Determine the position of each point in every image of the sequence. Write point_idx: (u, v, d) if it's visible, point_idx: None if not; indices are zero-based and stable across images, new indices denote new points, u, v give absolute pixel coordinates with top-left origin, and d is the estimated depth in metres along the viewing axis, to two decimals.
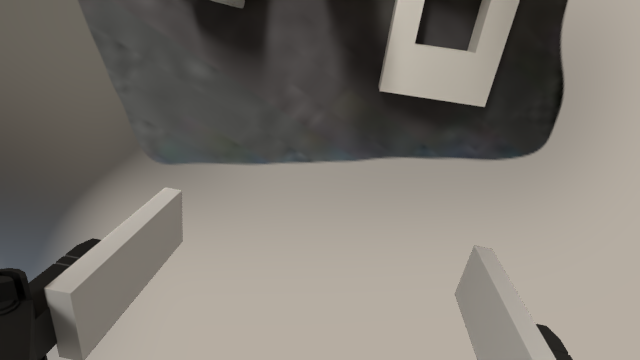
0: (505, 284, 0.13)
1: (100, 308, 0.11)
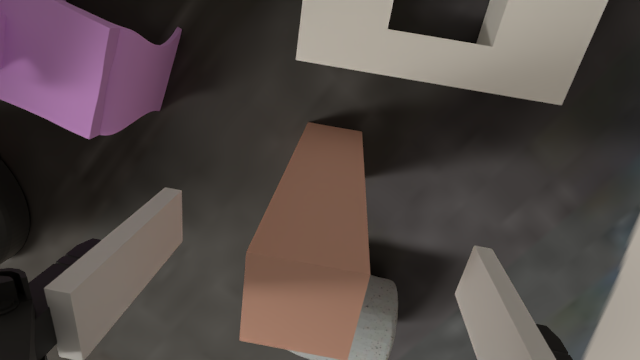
0: (505, 284, 0.13)
1: (100, 308, 0.11)
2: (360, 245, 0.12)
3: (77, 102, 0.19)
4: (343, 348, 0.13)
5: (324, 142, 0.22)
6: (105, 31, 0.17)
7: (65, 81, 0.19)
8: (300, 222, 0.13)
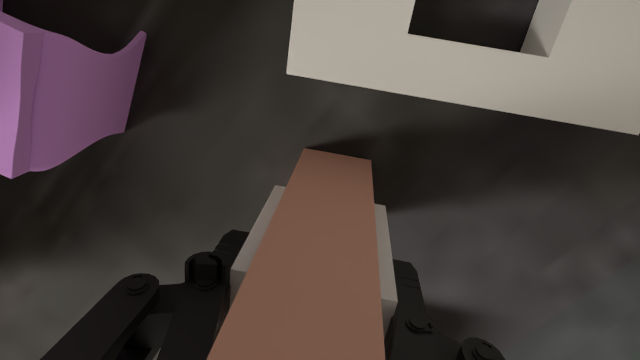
0: (381, 230, 0.15)
1: None
2: None
3: None
4: None
5: (323, 179, 0.17)
6: (18, 37, 0.12)
7: None
8: (276, 345, 0.08)
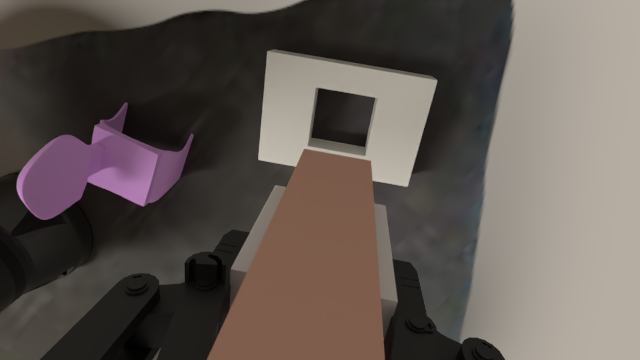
0: (381, 230, 0.15)
1: None
2: None
3: (138, 188, 0.35)
4: None
5: (324, 180, 0.17)
6: (156, 156, 0.34)
7: (133, 178, 0.35)
8: (276, 347, 0.08)
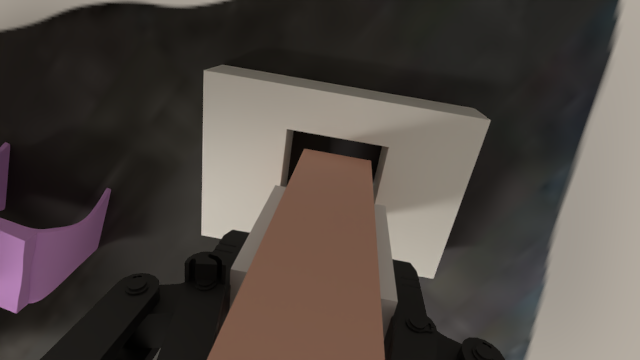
0: (382, 230, 0.15)
1: None
2: None
3: (4, 287, 0.22)
4: None
5: (323, 180, 0.17)
6: (21, 242, 0.20)
7: None
8: (276, 346, 0.08)
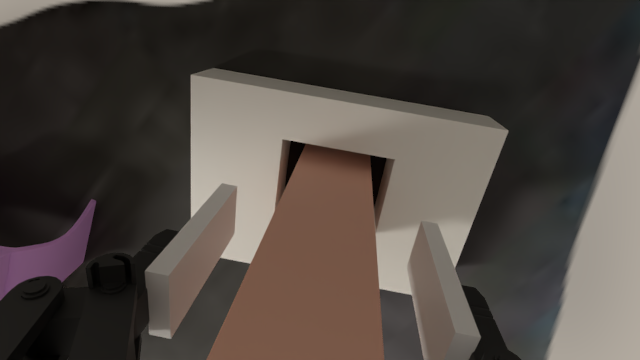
0: (441, 252, 0.14)
1: (183, 291, 0.12)
2: (371, 358, 0.08)
3: None
4: None
5: (325, 172, 0.18)
6: None
7: None
8: (284, 314, 0.09)
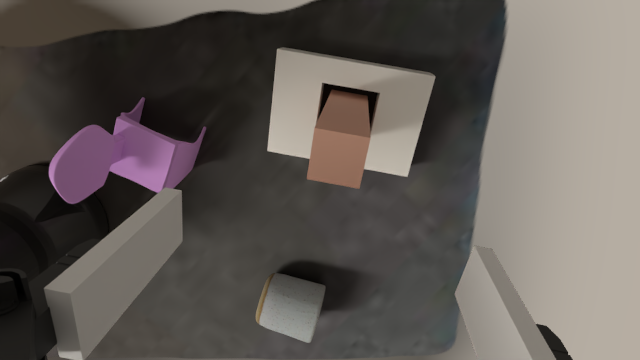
0: (505, 284, 0.13)
1: (100, 308, 0.11)
2: (365, 131, 0.26)
3: (156, 176, 0.38)
4: (357, 181, 0.26)
5: (344, 98, 0.36)
6: (173, 146, 0.36)
7: (151, 166, 0.37)
8: (336, 123, 0.27)
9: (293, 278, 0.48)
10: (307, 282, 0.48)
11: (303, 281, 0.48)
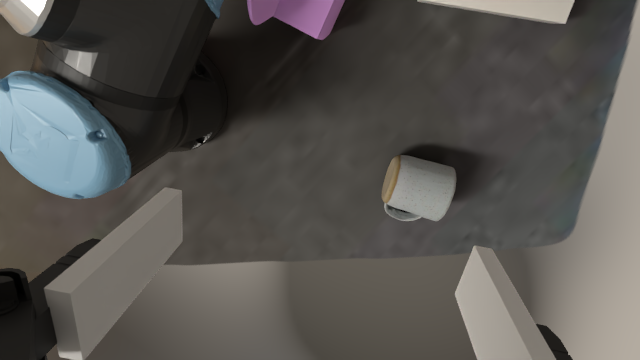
0: (505, 284, 0.13)
1: (100, 308, 0.11)
2: None
3: (316, 18, 0.37)
4: None
5: None
6: None
7: (312, 6, 0.37)
8: None
9: (419, 159, 0.48)
10: (434, 162, 0.47)
11: (430, 161, 0.47)
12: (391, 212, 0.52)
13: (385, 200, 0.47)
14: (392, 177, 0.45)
